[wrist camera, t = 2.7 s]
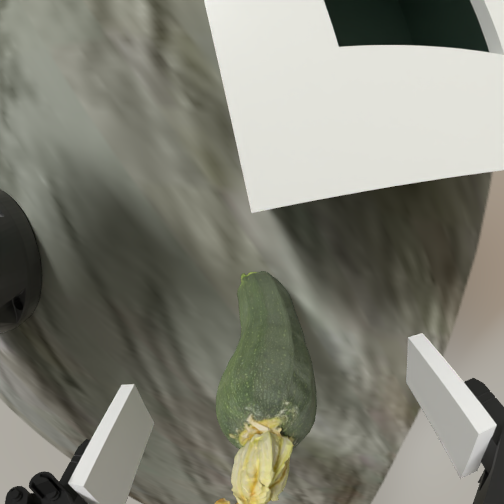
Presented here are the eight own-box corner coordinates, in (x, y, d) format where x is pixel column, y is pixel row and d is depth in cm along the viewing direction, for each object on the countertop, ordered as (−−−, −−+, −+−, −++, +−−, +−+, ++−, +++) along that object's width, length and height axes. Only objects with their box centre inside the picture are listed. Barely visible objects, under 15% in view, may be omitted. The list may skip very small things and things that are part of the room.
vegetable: (292, 262, 25) (367, 491, 6) (287, 312, 27) (329, 547, 7) (235, 259, 25) (190, 494, 6) (233, 310, 27) (201, 547, 7)
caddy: (253, 185, 24) (251, 212, 10) (211, 0, 20) (177, -114, 6) (441, 155, 23) (567, 162, 9) (393, -13, 19) (470, -94, 5)
